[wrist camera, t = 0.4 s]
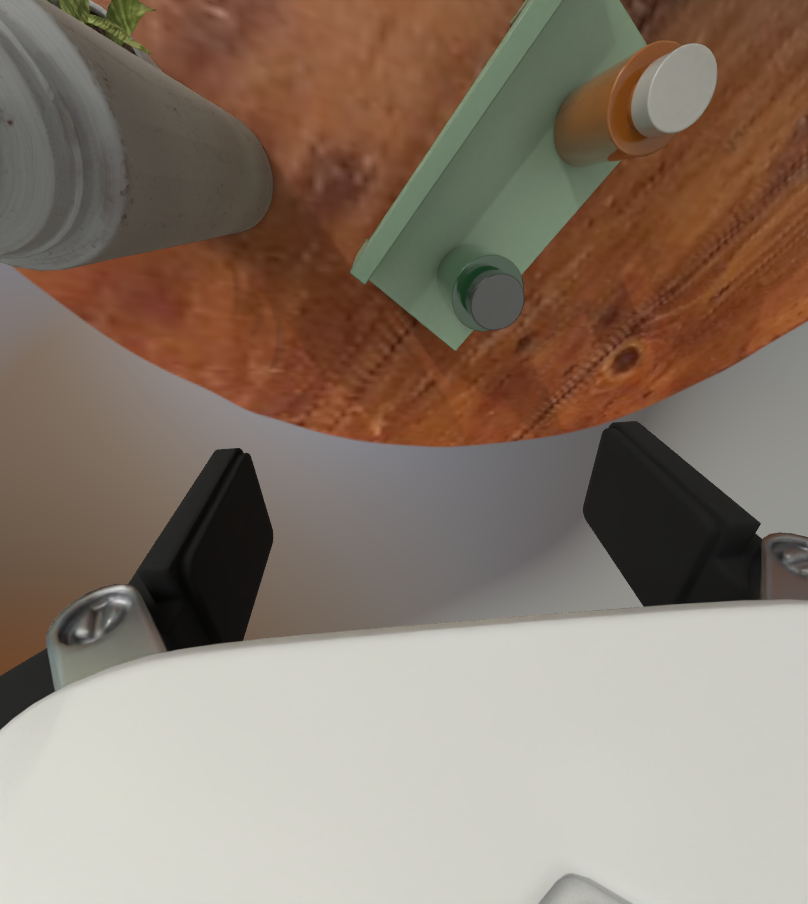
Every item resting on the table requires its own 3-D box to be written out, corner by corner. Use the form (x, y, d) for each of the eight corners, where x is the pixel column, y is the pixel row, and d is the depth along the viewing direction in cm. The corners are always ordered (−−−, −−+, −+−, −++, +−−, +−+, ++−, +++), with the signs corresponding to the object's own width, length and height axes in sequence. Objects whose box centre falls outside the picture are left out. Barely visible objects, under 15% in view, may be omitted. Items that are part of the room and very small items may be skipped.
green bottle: (464, 230, 27) (498, 240, 19) (505, 271, 29) (552, 296, 21) (424, 281, 29) (442, 310, 21) (466, 318, 30) (496, 357, 23)
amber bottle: (594, 59, 23) (703, -13, 15) (634, 119, 24) (752, 81, 17) (539, 131, 24) (613, 99, 17) (580, 183, 26) (665, 174, 18)
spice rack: (526, -2, 27) (608, -114, 17) (611, 118, 31) (717, 80, 21) (356, 254, 35) (349, 272, 25) (441, 325, 38) (463, 365, 29)
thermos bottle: (169, 217, 32) (-398, 255, 9) (164, 92, 28) (-923, -483, 5) (269, 244, 34) (20, 340, 10) (278, 129, 30) (-102, -161, 6)
